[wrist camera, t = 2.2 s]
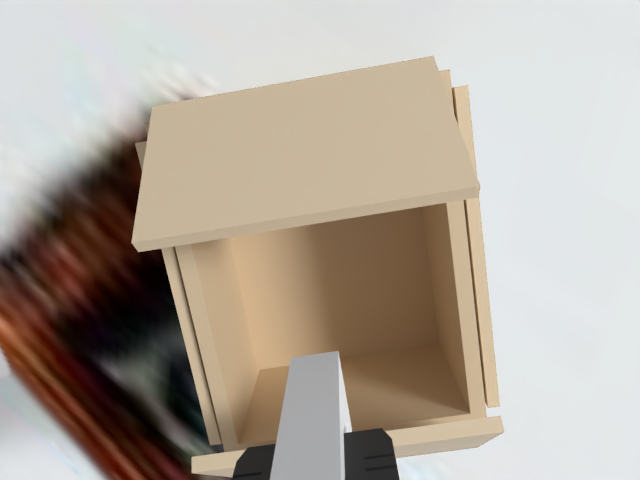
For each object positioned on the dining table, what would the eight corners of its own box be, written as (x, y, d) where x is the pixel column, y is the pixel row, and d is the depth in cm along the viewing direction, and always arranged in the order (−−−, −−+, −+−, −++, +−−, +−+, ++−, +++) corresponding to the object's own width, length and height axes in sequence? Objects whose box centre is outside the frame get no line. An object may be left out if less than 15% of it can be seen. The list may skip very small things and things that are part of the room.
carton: (181, 121, 33) (126, 126, 24) (431, 77, 32) (467, 66, 23) (239, 379, 37) (210, 461, 29) (462, 347, 36) (502, 423, 28)
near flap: (152, 106, 23) (131, 242, 19) (433, 55, 23) (480, 186, 18) (157, 116, 24) (138, 252, 19) (432, 67, 23) (478, 197, 19)
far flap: (240, 465, 28) (191, 456, 21) (474, 435, 27) (500, 415, 21) (240, 478, 28) (191, 473, 21) (477, 447, 27) (504, 432, 20)
